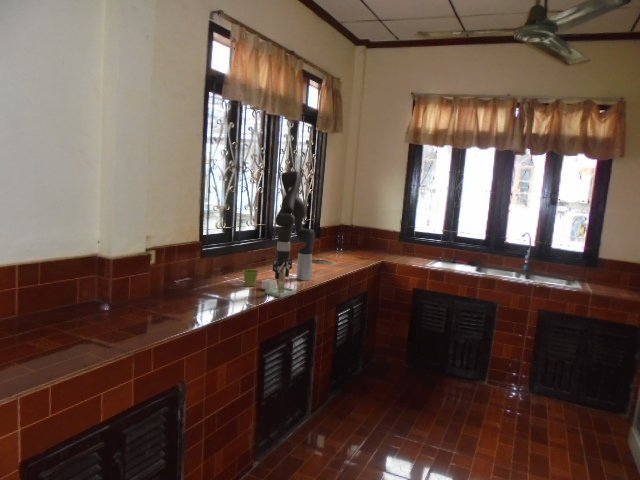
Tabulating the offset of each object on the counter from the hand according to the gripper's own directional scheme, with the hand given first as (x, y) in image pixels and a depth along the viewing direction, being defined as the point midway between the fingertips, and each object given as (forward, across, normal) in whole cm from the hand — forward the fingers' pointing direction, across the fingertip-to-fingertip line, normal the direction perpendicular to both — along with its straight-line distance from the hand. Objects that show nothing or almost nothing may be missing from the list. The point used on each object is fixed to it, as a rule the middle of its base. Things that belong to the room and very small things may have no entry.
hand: (281, 277), depth 261 cm
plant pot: (+9, -1, -24) cm, 26 cm away
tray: (+9, 0, 0) cm, 9 cm away
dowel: (+8, 0, 0) cm, 8 cm away
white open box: (+9, -3, -12) cm, 15 cm away
